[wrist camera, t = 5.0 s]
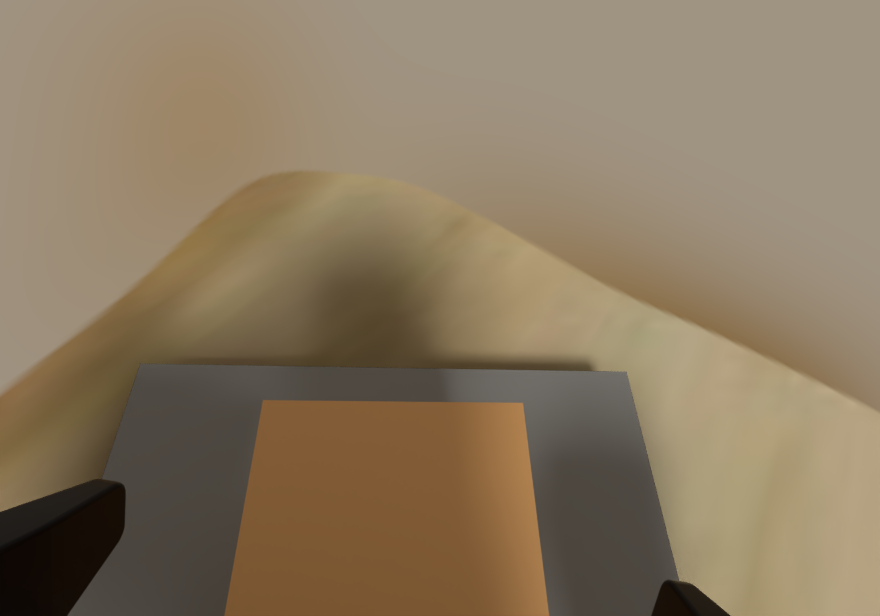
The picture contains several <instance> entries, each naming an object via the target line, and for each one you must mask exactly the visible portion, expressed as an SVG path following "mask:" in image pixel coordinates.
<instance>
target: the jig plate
mask: <svg viewBox="0 0 880 616" xmlns="http://www.w3.org/2000/svg"><path fill="white" fill-rule="evenodd" d="M263 400H296V401H394V402H492V403H523V407H524V415H525V424H526V432H527V440H528V448H529V456H530V464H531V472H532V481H533V489H534V497H535V505H536V513H537V521H538V529H539V537H540V546H541V554H542V562H543V570H544V578H545V586H546V594H547V603H548V611H549V616H651V614H652V611H653V608H654V605H655V602H656V599H657V596H658V593H659V590H660V587H661V585H662V583H663V582H664V581H665V580H668V579H671V580H676V581H679V578H678V574H677V570H676V566H675V562H674V558H673V554H672V551H671V547H670V543H669V539H668V535H667V531H666V527H665V523H664V519H663V515H662V511H661V507H660V503H659V499H658V495H657V491H656V487H655V483H654V479H653V475H652V471H651V467H650V463H649V459H648V455H647V451H646V447H645V444H644V440H643V436H642V432H641V428H640V424H639V420H638V416H637V412H636V408H635V404H634V400H633V396H632V392H631V388H630V384H629V380H628V376H627V372H608V371H549V370H490V369H431V368H371V367H312V366H253V365H193V364H140V366H139V369H138V372H137V375H136V378H135V381H134V384H133V387H132V390H131V393H130V396H129V399H128V402H127V405H126V408H125V411H124V414H123V417H122V420H121V423H120V425H119V428H118V431H117V434H116V437H115V440H114V443H113V446H112V449H111V452H110V455H109V458H108V461H107V464H106V467H105V470H104V473H103V476H102V479H105V480H110V481H116V482H120V483H122V484H123V485H124V486H125V489H126V507H125V528H124V532H123V534H122V537H121V539H120V541H119V542H118V544H117V545H116V547H115V548H114V550H113V551H112V552H111V554H110V555H109V557H108V558H107V560H106V561H105V563H104V564H103V565H102V567H101V568H100V570H99V571H98V573H97V574H96V575H95V577H94V578H93V580H92V581H91V583H90V584H89V586H88V587H87V588H86V590H85V591H84V593H83V594H82V596H81V597H80V598H79V600H78V601H77V603H76V604H75V606H74V607H73V608H72V610H71V611H70V613H69V614H68V616H224V615H225V609H226V603H227V598H228V592H229V587H230V581H231V576H232V570H233V564H234V559H235V553H236V548H237V542H238V536H239V531H240V525H241V520H242V514H243V509H244V503H245V497H246V492H247V486H248V481H249V475H250V470H251V464H252V458H253V453H254V447H255V442H256V436H257V430H258V425H259V419H260V414H261V408H262V403H263Z"/></svg>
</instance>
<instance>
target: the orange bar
mask: <svg viewBox="0 0 880 616" xmlns="http://www.w3.org/2000/svg"><path fill="white" fill-rule="evenodd" d="M224 616H549V611H548V603H547V594H546V586H545V578H544V570H543V562H542V554H541V546H540V537H539V529H538V521H537V513H536V505H535V497H534V489H533V481H532V472H531V464H530V456H529V448H528V440H527V432H526V424H525V415H524V407H523V403H492V402H394V401H296V400H263V403H262V408H261V414H260V419H259V425H258V430H257V436H256V442H255V447H254V453H253V458H252V464H251V470H250V475H249V481H248V486H247V492H246V497H245V503H244V509H243V514H242V520H241V525H240V531H239V536H238V542H237V548H236V553H235V559H234V564H233V570H232V576H231V581H230V587H229V592H228V598H227V603H226V609H225V615H224Z"/></svg>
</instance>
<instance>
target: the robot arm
mask: <svg viewBox="0 0 880 616" xmlns="http://www.w3.org/2000/svg"><path fill="white" fill-rule="evenodd" d="M125 507H126V489H125V486H124V485H123V484H122V483H120V482H116V481H110V480H105V479H95V480H92V481H89V482H86V483H83V484H80V485H77V486H74V487H71V488H69V489H66V490H63V491H60V492H57V493H54V494H51V495H48V496H45V497H42V498H40V499H37V500H34V501H31V502H28V503H25V504H22V505H19V506H16V507H13V508H11V509H8V510H5V511H2V512H0V616H68V614H69V613H70V611H71V610H72V608H73V607H74V606H75V604H76V603H77V601H78V600H79V598H80V597H81V596H82V594H83V593H84V591H85V590H86V588H87V587H88V586H89V584H90V583H91V581H92V580H93V578H94V577H95V575H96V574H97V573H98V571H99V570H100V568H101V567H102V565H103V564H104V563H105V561H106V560H107V558H108V557H109V555H110V554H111V552H112V551H113V550H114V548H115V547H116V545H117V544H118V542H119V541H120V539H121V537H122V534H123V532H124V528H125ZM651 616H730V615H729V614H728V613H727V612H725V611H724V610H723V609H722V608H721V607H719V606H718V605H717V604H716V603H715V602H713V601H712V600H711V599H710V598H709V597H707V596H706V595H705V594H704V593H703V592H701V591H700V590H699V589H698V588H696V587H695V586H694V585H693V584H690V583H687V582H682V581H676V580H671V579H668V580H665V581H664V582H663V583H662V585H661V587H660V590H659V593H658V596H657V599H656V602H655V605H654V608H653V611H652V614H651Z"/></svg>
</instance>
